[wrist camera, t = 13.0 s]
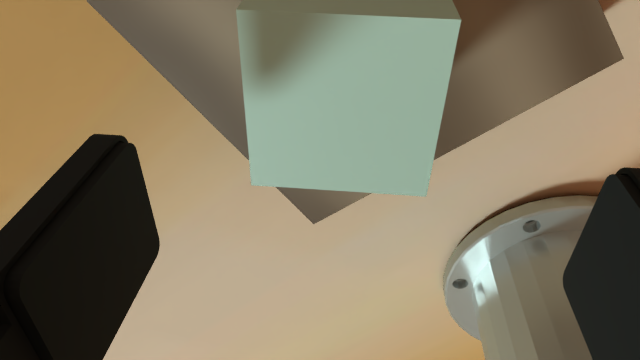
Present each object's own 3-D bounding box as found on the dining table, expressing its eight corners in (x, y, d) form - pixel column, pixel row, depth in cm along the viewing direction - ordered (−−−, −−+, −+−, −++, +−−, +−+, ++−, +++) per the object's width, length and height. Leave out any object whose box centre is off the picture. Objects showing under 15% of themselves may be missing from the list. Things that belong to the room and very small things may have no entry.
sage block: (432, -43, 15) (461, 19, 10) (411, 98, 18) (426, 196, 13) (276, -49, 15) (235, 9, 11) (281, 90, 18) (251, 185, 14)
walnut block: (418, -330, 14) (433, -373, 11) (582, 19, 20) (623, 58, 17) (130, -29, 20) (86, 0, 17) (320, 174, 26) (313, 224, 23)
